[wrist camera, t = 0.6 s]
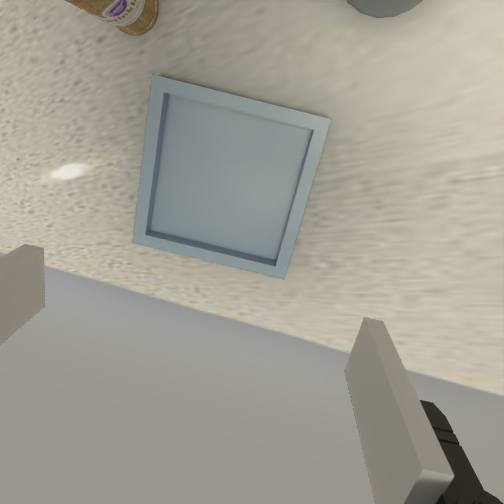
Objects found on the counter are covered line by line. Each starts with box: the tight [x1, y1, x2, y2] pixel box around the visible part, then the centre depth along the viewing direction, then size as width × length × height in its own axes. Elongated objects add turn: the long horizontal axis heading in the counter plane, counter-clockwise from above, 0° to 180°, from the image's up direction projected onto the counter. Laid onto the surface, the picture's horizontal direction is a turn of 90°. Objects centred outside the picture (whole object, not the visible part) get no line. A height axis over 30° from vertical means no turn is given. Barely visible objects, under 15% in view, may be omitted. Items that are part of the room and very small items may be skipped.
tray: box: [132, 74, 331, 280], centre depth 36 cm, size 16×16×2 cm
